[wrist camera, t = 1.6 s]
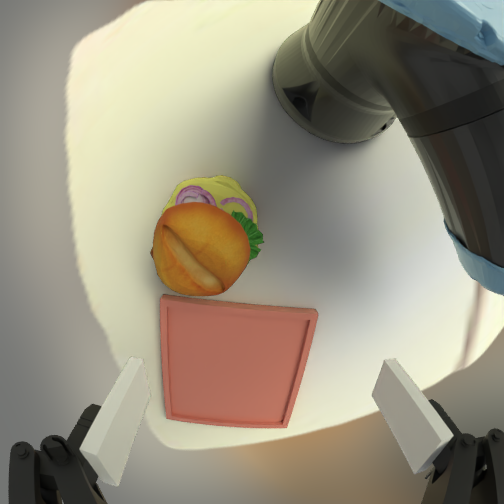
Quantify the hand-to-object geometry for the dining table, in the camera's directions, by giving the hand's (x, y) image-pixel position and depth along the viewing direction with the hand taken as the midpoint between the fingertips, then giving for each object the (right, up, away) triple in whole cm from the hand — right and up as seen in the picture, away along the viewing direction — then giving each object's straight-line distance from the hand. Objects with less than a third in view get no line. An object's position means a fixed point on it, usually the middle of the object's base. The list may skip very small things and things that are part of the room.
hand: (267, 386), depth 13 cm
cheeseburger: (-5, +10, +16) cm, 20 cm away
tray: (-3, -9, +20) cm, 22 cm away
